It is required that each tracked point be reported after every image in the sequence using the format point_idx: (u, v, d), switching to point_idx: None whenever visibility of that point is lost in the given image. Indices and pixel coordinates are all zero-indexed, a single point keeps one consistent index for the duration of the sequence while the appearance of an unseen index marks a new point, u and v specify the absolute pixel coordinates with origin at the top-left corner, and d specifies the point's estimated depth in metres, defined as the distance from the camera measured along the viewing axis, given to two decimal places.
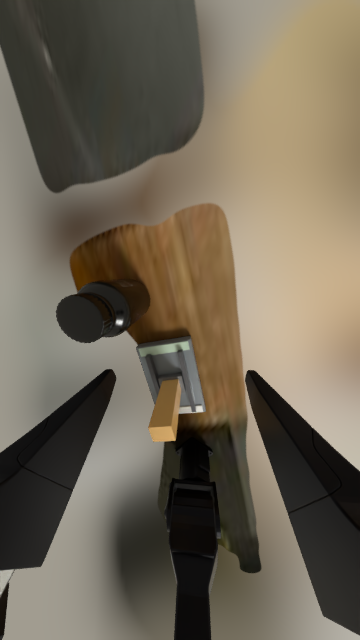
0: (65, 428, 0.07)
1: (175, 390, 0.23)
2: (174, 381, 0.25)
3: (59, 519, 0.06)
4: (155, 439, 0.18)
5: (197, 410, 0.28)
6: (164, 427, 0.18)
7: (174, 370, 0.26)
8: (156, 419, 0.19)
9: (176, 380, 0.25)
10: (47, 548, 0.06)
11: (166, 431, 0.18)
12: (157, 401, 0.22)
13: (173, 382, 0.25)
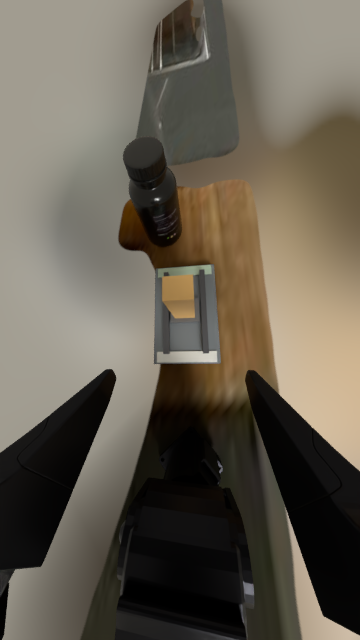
0: (65, 428, 0.07)
1: None
2: None
3: (58, 519, 0.06)
4: (166, 297, 0.14)
5: (209, 358, 0.21)
6: (183, 276, 0.14)
7: None
8: None
9: None
10: (47, 548, 0.06)
11: (184, 283, 0.14)
12: None
13: None
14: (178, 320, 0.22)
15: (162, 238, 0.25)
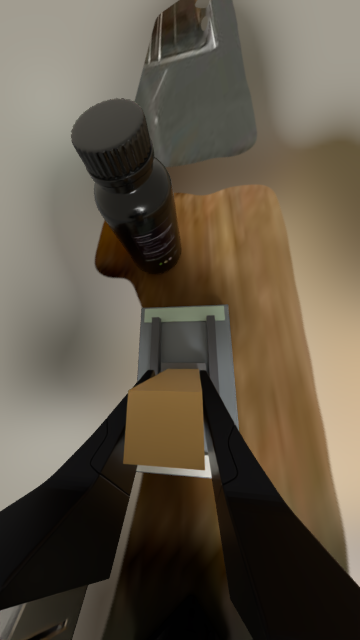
0: None
1: (196, 372, 0.11)
2: (191, 369, 0.13)
3: (119, 527, 0.06)
4: (134, 453, 0.05)
5: None
6: (177, 396, 0.06)
7: (192, 357, 0.15)
8: (155, 385, 0.07)
9: (195, 369, 0.13)
10: (113, 558, 0.06)
11: (181, 415, 0.05)
12: (158, 375, 0.10)
13: (189, 369, 0.13)
14: None
15: (152, 264, 0.17)
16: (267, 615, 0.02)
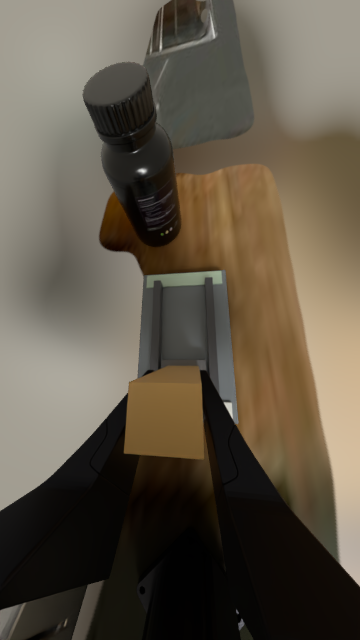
0: (124, 431, 0.06)
1: (196, 368, 0.11)
2: (191, 366, 0.13)
3: (119, 527, 0.06)
4: (135, 443, 0.05)
5: None
6: (177, 388, 0.06)
7: (191, 317, 0.16)
8: (155, 378, 0.07)
9: (195, 366, 0.13)
10: (112, 558, 0.06)
11: (181, 406, 0.06)
12: (158, 371, 0.10)
13: (189, 366, 0.13)
14: None
15: (153, 233, 0.18)
16: (268, 615, 0.02)
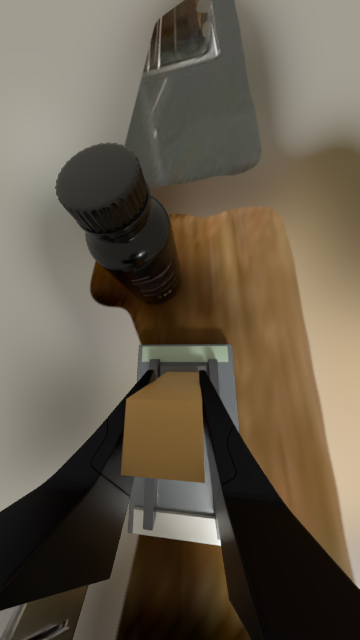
0: None
1: (196, 376, 0.11)
2: (191, 372, 0.13)
3: (119, 527, 0.06)
4: (132, 463, 0.05)
5: None
6: (176, 405, 0.05)
7: None
8: (153, 392, 0.07)
9: (195, 372, 0.13)
10: (113, 558, 0.06)
11: (180, 425, 0.05)
12: (157, 380, 0.09)
13: (189, 373, 0.13)
14: None
15: (150, 298, 0.16)
16: (264, 615, 0.02)
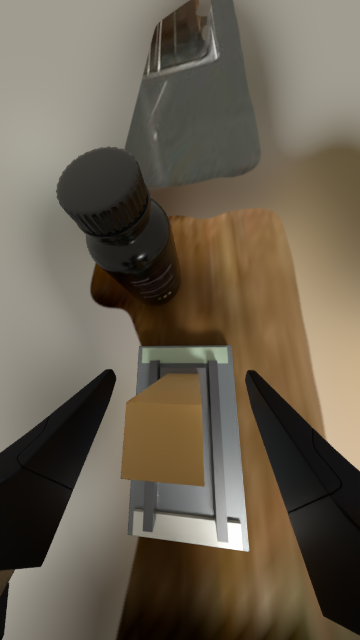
0: (65, 428, 0.07)
1: (196, 378, 0.11)
2: (191, 374, 0.13)
3: (58, 519, 0.06)
4: (132, 467, 0.05)
5: (228, 540, 0.11)
6: (176, 409, 0.05)
7: None
8: (153, 395, 0.07)
9: (195, 374, 0.13)
10: (47, 548, 0.06)
11: (180, 428, 0.05)
12: (157, 382, 0.09)
13: (189, 374, 0.13)
14: None
15: (150, 299, 0.16)
16: None
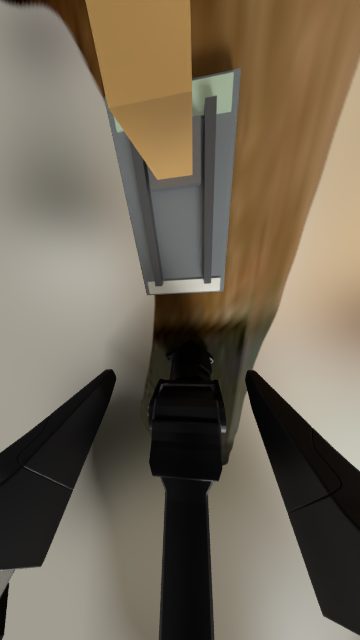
0: (65, 428, 0.07)
1: None
2: None
3: (58, 519, 0.06)
4: (116, 88, 0.05)
5: (211, 287, 0.18)
6: None
7: None
8: None
9: None
10: (47, 548, 0.06)
11: None
12: None
13: None
14: (163, 184, 0.12)
15: None
16: None
